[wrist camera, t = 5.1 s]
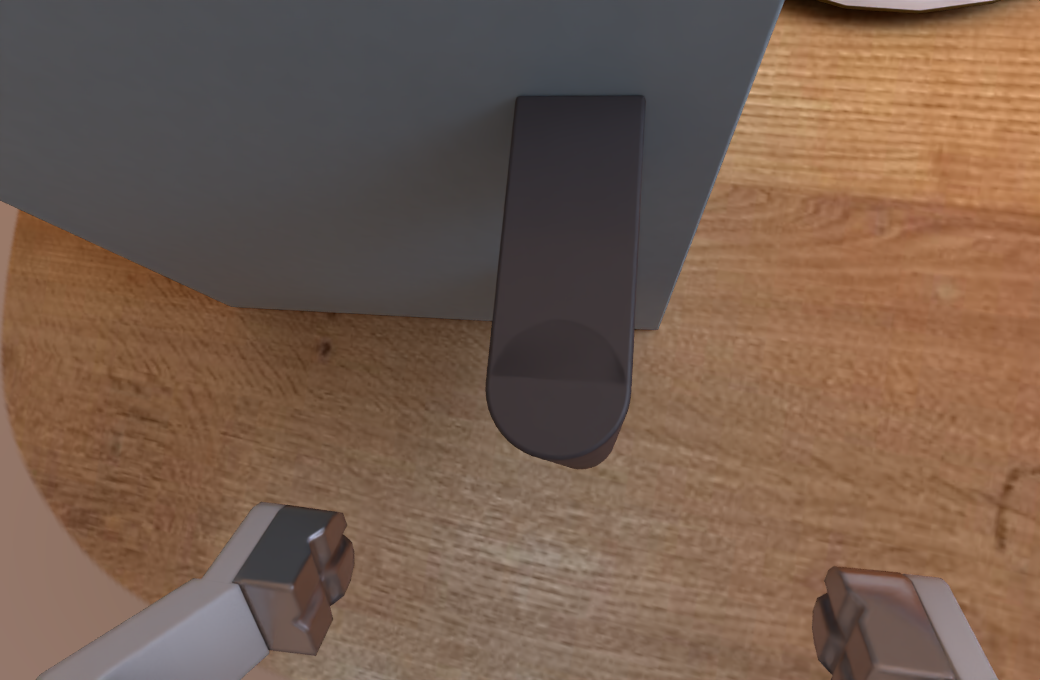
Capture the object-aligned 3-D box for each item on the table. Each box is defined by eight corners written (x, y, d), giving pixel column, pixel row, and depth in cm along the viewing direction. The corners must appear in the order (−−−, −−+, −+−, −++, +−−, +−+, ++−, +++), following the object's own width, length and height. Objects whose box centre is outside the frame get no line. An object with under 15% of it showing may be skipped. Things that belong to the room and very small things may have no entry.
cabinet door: (652, 477, 21) (1102, 480, 2) (204, 436, 24) (-1342, 276, 5) (659, 305, 23) (968, -611, 4) (235, 285, 25) (-873, -296, 6)
